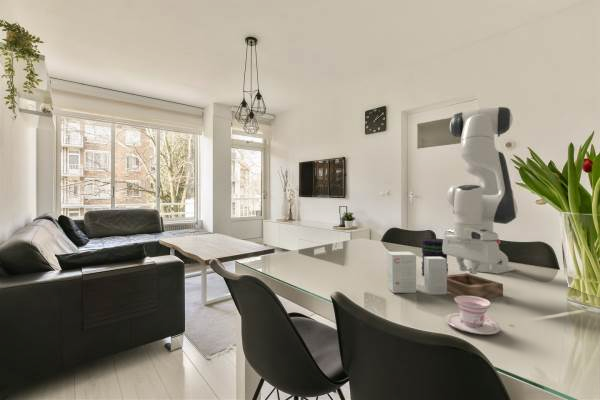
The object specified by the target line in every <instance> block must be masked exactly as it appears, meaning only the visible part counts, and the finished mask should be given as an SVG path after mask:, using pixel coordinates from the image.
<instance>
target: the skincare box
mask: <svg viewBox="0 0 600 400" xmlns="http://www.w3.org/2000/svg"><path fill="white" fill-rule="evenodd" d="M447 264H448V258H447V259H446V258H443V257H424V276H423V279H424V280H423V285H424V286H423V288H424V289H423V291H424V292H425V293H427V294H428V295H432V296H433V295H448V292H447V275H448V274H447V268H448V267H447Z"/></svg>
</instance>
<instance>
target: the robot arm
mask: <svg viewBox="0 0 600 400" xmlns="http://www.w3.org/2000/svg"><path fill="white" fill-rule="evenodd" d="M513 120H514V118H513V113H512V112H511V109H510V108H509V107H505V106H498V107H486V108H480V109H473V110H469V111H464V112H463V111H460V112H458V113H455V114H454V115H453V116H452V117H451V119H450V122H449V131H450V133H451V135H452V136H453V137H455V138H460V147H459V148H460V155H461V158H462V159H463V160H464V161H465V166H464V167H465V171H466V172H467V173H469V174H470V175H472V176H475V177H477V178H479V179H480V182H478V183H475V182H474V183H471V182H470V183H458V184H453V185H451V186H450V187H449V188H448V190H447V192H446V199H447V201H448V203H449V204H450V205H451V206H452V207H453V210H452V211H453V214H454V220H453V229H447V230H446V231H444V234H443V238H442V239H443V246H442V251H443V253H444V254H446V255H447V256H451V257H454V258H455V257H456V263H457V264H458V266H459V271H460V272H461V271H462V272H467V271H468V270H469V274H471V275H477V274H478V273H479V272H481V273H491V274H498V275H499V274H502V273H507V272H513V271H515V270H516V268H515V267H514V266H511V265H509V257H508V256H507V255H506V253H505V252H503V251H501V250H500V246H499V245H500V244H501V240H500V239H499V234H498V233H496V232H495V231H494V223H495V224H502V225H507V224H509V223H511V222H512V221H514V220H515V219H516V218H517V216H518V204H517V201H516V199H515V197H514V191H513V188H512V184H511V179H510V172H509V169H508V167H509V166H508V163H507V161H506V160H507V159H506V157H505V155H504V153H503V152H501V151H498V149H497V148H496V144H495V135H497V138H499V137H500V136H501V135H503V134H505V133H507V132H508V131H509V130H510V128H511V126H512V124H513Z"/></svg>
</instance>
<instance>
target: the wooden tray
mask: <svg viewBox="0 0 600 400" xmlns="http://www.w3.org/2000/svg"><path fill="white" fill-rule="evenodd" d="M447 293H449V294H453V295H455V296H456V297H457V296H475V297H480V298H484V299H490V298H498V297H503V296H504V284H503V283H502V282H498V281H495V280H491V279H487V278H484V277H481V276H477V275H475V274H471V273H467V272H466V273H457V274H447Z"/></svg>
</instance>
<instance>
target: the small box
mask: <svg viewBox="0 0 600 400" xmlns="http://www.w3.org/2000/svg"><path fill="white" fill-rule="evenodd" d="M387 288H388V289H389V290H390V291H391V292H392V293H393V294H394V293H395V294H396V293H397V294H399V293H401V294H402V293H403V294H404V293H405V294H406V293H407V294H414V293H415V294H416V293H417V254H415V253H414V252H411V251H387Z"/></svg>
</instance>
